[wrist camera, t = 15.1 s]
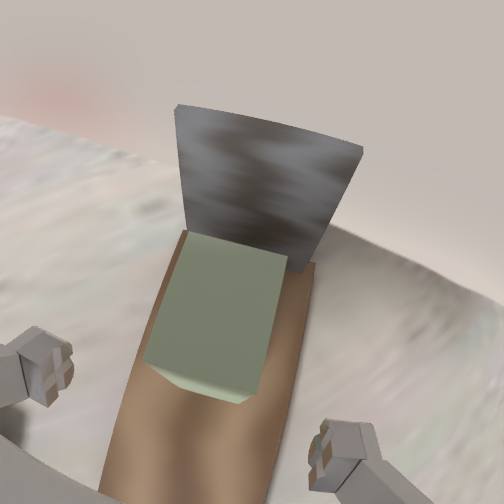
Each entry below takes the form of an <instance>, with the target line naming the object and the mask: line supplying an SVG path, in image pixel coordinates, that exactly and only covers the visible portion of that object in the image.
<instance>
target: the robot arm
mask: <svg viewBox="0 0 504 504" xmlns="http://www.w3.org/2000/svg"><path fill="white" fill-rule="evenodd" d="M72 354H73V352H72V345H71V344H70V343H69V342H67V341H65V340H63V339H61V338H59V337H57V336H55V335H53V334H51V333H49V332H47V331H45V330H43V329H41V328H39V327H38V326H32V327H31V328H29V329H28V330H26V331H25V332H24V333H22V334H21V335H19V336H18V337H17V338H15V339H14V340H12V341H11V342H10V343H8V344H7V345H6V346H5V345H3V344H0V408H3V407H6V406H9V405H11V404H14V403H17V402H20V401H23V400H25V399H28V397H29V398H31V399H33V400H35V401H36V402H38V403H40V404H42V405H44V406H46V407H47V408H48V407H49V406H50V405H51V404H52V403H53V402H54V401H55V400H56V399H57V398H58V397H59V396H58V391H59V390H63V389H66V388H67V387H68V385H69V384H70V383H71V380H72V378H73V374H74V364H73V362H72V361H71V359H70V356H71V355H72ZM308 463H309V465H310V466H311V467H312V469H311V471H310V473H309V490H310V491H318V492H328V493H335V495H336V497H337V498H338V500H339V501H340V502H341V504H434V503H433V502H432V501H431V500H430V499H429V498H427V497H426V496H425V495H424V494H423V493H422V492H421V491H420V490H418V489H417V488H416V487H415V486H414V485H413V484H412V483H411V482H410V481H408V480H407V479H406V478H405V477H404V476H403V475H402V474H401V473H400V472H399V471H397V470H396V469H395V468H394V467H393V466H392V465H391V464H390V463H389V462H388V461H383V459H382V456H381V452H380V448H379V444H378V441H377V437H376V433H375V430H374V426H373V425H372V424H371V423H363V422H351V421H342V420H334V419H327V418H326V419H325V420H324V421H323V422H322V424H321V426H320V434H318V435H316V436H315V437H314V439H313V441H312V443H311V446H310V449H309V454H308ZM0 504H125V503H123V502H120V501H118V500H116V499H113V498H111V497H109V496H106V495H104V494H102V493H100V492H97V491H95V490H93V489H91V488H89V487H87V486H85V485H83V484H81V483H79V482H77V481H75V480H73V479H71V478H69V477H67V476H66V475H64V474H62V473H60V472H58V471H57V470H55V469H53V468H51V467H50V466H48V465H46V464H45V463H43V462H41V461H40V460H38V459H36V458H35V457H33V456H32V455H30V454H29V453H27V452H25V451H24V450H22V449H21V448H19V447H18V446H17V445H15V444H14V443H12V442H11V441H9V440H8V439H7V438H5V437H4V436H2V435H1V434H0Z"/></svg>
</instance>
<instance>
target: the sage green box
mask: <svg viewBox="0 0 504 504" xmlns="http://www.w3.org/2000/svg"><path fill="white" fill-rule="evenodd" d="M287 258H288V256H285V255H281V254H277V253H273V252H269V251H265V250H261V249H257V248H253V247H249V246H246V245H242V244H238V243H234V242H230V241H226V240H222V239H218V238H214V237H210V236H206V235H202V234H198V233H194V232H190V231H189V232H188V235H187V237H186V240H185V242H184V245H183V247H182V250H181V253H180V255H179V258H178V260H177V263H176V266H175V268H174V271H173V273H172V276H171V279H170V281H169V284H168V287H167V290H166V292H165V295H164V298H163V300H162V303H161V306H160V309H159V312H158V314H157V317H156V320H155V323H154V326H153V329H152V332H151V335H150V337H149V340H148V343H147V346H146V349H145V352H144V355H143V358H142V361H143V362H145V363H146V364H147V365H149V366H150V367H151V368H153V369H154V370H155V371H157V372H158V373H159V374H161V375H162V376H164V377H165V378H166V379H168V380H169V381H170V382H172V383H173V384H175V385H176V386H178V387H179V388H182V389H185V390H189V391H192V392H195V393H199V394H202V395H206V396H210V397H213V398H217V399H221V400H225V401H228V402H232V403H237V404H240V403H241V402H243V401H245V400H247V399H248V398H250V397H252V396H253V395H255V394H257V391H258V387H259V382H260V378H261V374H262V370H263V366H264V362H265V357H266V353H267V349H268V344H269V340H270V336H271V331H272V327H273V322H274V318H275V313H276V309H277V304H278V300H279V295H280V291H281V286H282V281H283V277H284V272H285V267H286V262H287Z"/></svg>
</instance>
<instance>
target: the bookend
mask: <svg viewBox="0 0 504 504" xmlns="http://www.w3.org/2000/svg"><path fill="white" fill-rule="evenodd" d="M174 115H175V126H176V137H177V148H178V158H179V168H180V177H181V186H182V194H183V203H184V211H185V218H186V226H187V230H183V231H182V234H181V236H180V239H179V241H178V244H177V246H176V249H175V251H174V254H173V256H172V259H171V261H170V264H169V266H168V269H167V272H166V274H165V277H164V279H163V282H162V285H161V287H160V290H159V293H158V295H157V298H156V301H155V304H154V306H153V309H152V312H151V315H150V317H149V320H148V323H147V326H146V329H145V332H144V334H143V337H142V340H141V343H140V346H139V349H138V352H137V355H136V358H135V361H134V364H133V367H132V370H131V374H130V377H129V380H128V383H127V386H126V389H125V393H124V396H123V399H122V403H121V406H120V409H119V413H118V416H117V420H116V423H115V427H114V430H113V434H112V438H111V441H110V445H109V449H108V452H107V456H106V460H105V464H104V468H103V472H102V476H101V480H100V485H99V489H98V492H100V493H102V494H104V495H106V496H109V497H111V498H113V499H116V500H118V501H120V502H123V503H125V504H264V501H265V498H266V494H267V490H268V487H269V483H270V479H271V476H272V472H273V468H274V464H275V461H276V457H277V453H278V449H279V445H280V441H281V437H282V432H283V428H284V424H285V420H286V415H287V411H288V407H289V402H290V398H291V393H292V389H293V384H294V379H295V374H296V370H297V365H298V360H299V355H300V350H301V345H302V339H303V334H304V329H305V323H306V318H307V312H308V306H309V301H310V295H311V289H312V283H313V277H314V270H315V264H316V263H313V262H309V260H310V258H311V256H312V255H313V253H314V251H315V249H316V247H317V245H318V243H319V241H320V239H321V238H322V236H323V234H324V232H325V230H326V228H327V226H328V224H329V222H330V220H331V218H332V216H333V214H334V212H335V210H336V208H337V206H338V204H339V202H340V200H341V198H342V196H343V194H344V192H345V190H346V188H347V186H348V184H349V182H350V180H351V178H352V176H353V174H354V172H355V170H356V168H357V166H358V164H359V162H360V160H361V157H362V155H363V147H362V146H359V145H356V144H353V143H350V142H347V141H344V140H340V139H337V138H333V137H330V136H327V135H323V134H319V133H316V132H312V131H308V130H305V129H300V128H297V127H293V126H288V125H285V124H281V123H276V122H272V121H267V120H263V119H258V118H254V117H249V116H244V115H239V114H234V113H229V112H224V111H218V110H212V109H206V108H200V107H194V106H186V105H180V104H178V106H177V107H176V109H175V110H174ZM189 231H190V232H194V233H198V234H202V235H206V236H210V237H214V238H218V239H222V240H226V241H230V242H234V243H238V244H242V245H246V246H249V247H253V248H257V249H261V250H265V251H269V252H273V253H277V254H281V255H285V256H288V258H287V262H286V267H285V272H284V277H283V281H282V286H281V291H280V295H279V300H278V304H277V309H276V313H275V318H274V322H273V327H272V331H271V336H270V340H269V344H268V349H267V353H266V357H265V362H264V366H263V370H262V374H261V378H260V382H259V387H258V391H257V394H255V395H253V396H252V397H250V398H248V399H247V400H245V401H243V402H241V403H240V404H237V403H232V402H228V401H225V400H221V399H217V398H213V397H210V396H206V395H202V394H199V393H195V392H192V391H189V390H185V389H182V388H179V387H178V386H176V385H175V384H173V383H172V382H170V381H169V380H168V379H166V378H165V377H164V376H162V375H161V374H159V373H158V372H157V371H155V370H154V369H153V368H151V367H150V366H149V365H147V364H146V363H145V362H143V361H142V358H143V355H144V352H145V349H146V346H147V343H148V340H149V337H150V335H151V332H152V329H153V326H154V323H155V320H156V317H157V314H158V312H159V309H160V306H161V303H162V300H163V298H164V295H165V292H166V290H167V287H168V284H169V281H170V279H171V276H172V273H173V271H174V268H175V266H176V263H177V260H178V258H179V255H180V253H181V250H182V247H183V245H184V242H185V240H186V237H187V235H188V232H189Z"/></svg>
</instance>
